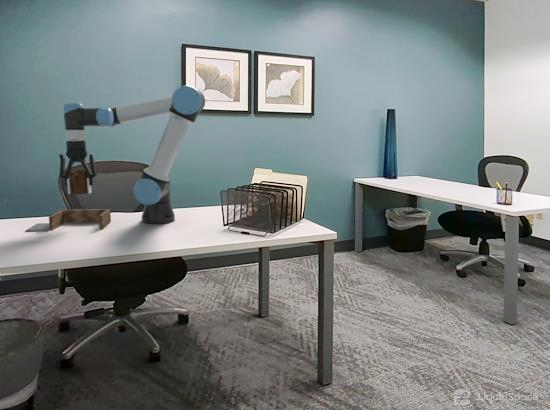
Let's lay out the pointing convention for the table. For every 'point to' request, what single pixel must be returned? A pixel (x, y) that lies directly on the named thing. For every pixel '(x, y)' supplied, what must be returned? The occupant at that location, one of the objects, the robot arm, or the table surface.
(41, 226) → the mat
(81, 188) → the mug
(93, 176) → the robot arm
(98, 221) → the brown wooden u-shaped piece
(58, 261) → the table surface
